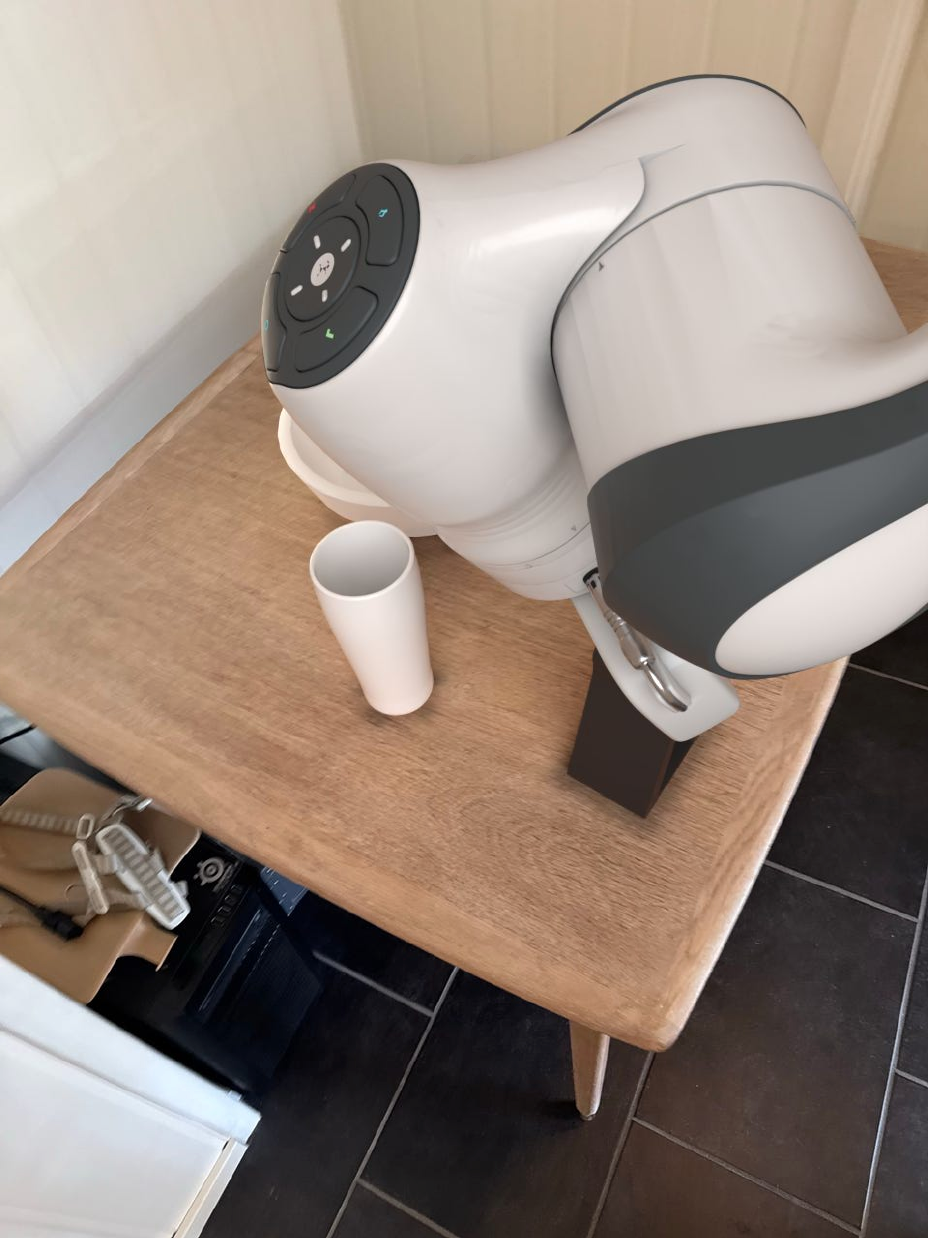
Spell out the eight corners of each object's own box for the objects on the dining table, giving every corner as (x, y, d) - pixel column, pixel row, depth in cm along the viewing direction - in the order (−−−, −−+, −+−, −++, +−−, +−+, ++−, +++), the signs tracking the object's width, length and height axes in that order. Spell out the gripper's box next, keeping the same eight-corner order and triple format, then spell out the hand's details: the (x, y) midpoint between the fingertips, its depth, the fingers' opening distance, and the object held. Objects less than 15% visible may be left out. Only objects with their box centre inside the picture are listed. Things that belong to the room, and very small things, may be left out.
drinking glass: (403, 637, 69) (367, 502, 57) (463, 685, 66) (437, 552, 54) (337, 691, 67) (285, 562, 55) (396, 744, 63) (354, 619, 51)
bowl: (282, 579, 74) (253, 510, 67) (320, 406, 88) (299, 334, 81) (550, 571, 72) (547, 498, 65) (546, 394, 85) (544, 319, 79)
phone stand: (633, 683, 64) (642, 578, 55) (708, 722, 62) (731, 619, 52) (566, 776, 60) (564, 680, 51) (643, 821, 58) (656, 729, 48)
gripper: (733, 650, 32) (799, 723, 43) (518, 304, 42) (617, 437, 54) (589, 735, 34) (688, 783, 45) (416, 384, 44) (533, 496, 55)
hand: (648, 593), depth 50 cm, fingers open, 8 cm apart
